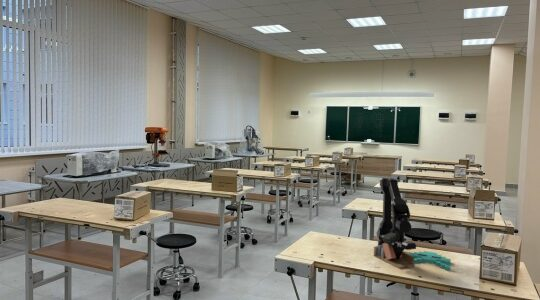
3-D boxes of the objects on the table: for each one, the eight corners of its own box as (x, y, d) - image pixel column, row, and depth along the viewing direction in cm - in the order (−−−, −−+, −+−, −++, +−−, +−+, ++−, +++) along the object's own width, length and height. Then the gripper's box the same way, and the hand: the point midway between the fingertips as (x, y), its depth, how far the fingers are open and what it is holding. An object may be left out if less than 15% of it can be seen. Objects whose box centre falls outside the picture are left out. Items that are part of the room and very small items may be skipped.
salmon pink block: (397, 258, 200) (392, 242, 203) (402, 256, 196) (397, 240, 199) (386, 259, 197) (382, 243, 200) (391, 258, 193) (387, 242, 196)
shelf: (387, 254, 209) (387, 242, 208) (413, 266, 191) (414, 253, 191) (373, 255, 205) (374, 243, 204) (399, 268, 188) (400, 255, 187)
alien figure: (450, 271, 188) (450, 259, 206) (450, 267, 187) (450, 255, 205) (406, 264, 196) (410, 252, 214) (406, 259, 196) (410, 248, 214)
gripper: (373, 225, 199) (372, 255, 200) (399, 233, 182) (398, 266, 183) (390, 223, 204) (389, 253, 204) (417, 231, 187) (416, 263, 187)
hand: (397, 258), depth 194 cm, fingers closed
